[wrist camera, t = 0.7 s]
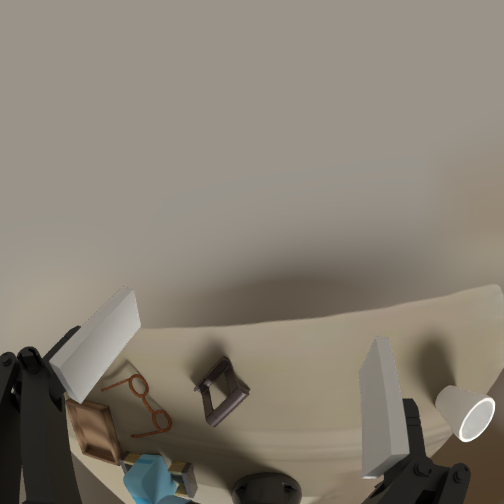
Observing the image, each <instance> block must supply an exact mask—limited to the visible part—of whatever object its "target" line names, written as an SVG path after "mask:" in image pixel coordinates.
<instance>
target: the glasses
mask: <svg viewBox="0 0 504 504" xmlns="http://www.w3.org/2000/svg"><path fill="white" fill-rule="evenodd" d="M135 377H138V378H140V379H141V380H142V381H143V382H144V384H145V387H146V390H145V392H144V393H143V394H142V395H141V394H138V393H137V392H136V391H135V390H134V388H133V386H132V380H133V378H135ZM127 381H129V387H130V389H131V391H132V392H133V393H134V395H136V396H137V397H139V398H142V400H143V402H144V404H145V406H146V407H147V408H148V410H149V411H150V412H151V413H152V420H153V423H154V425H155V427H156V428H157V429H158V430H159V431H154V432H149V433H145V434H141V435H136V436H135V435H132V436H131V437H132V438H138V437H142V436H147V435H152V434H157V433H162V432H167V431H169V430H170V429H171V426H172V422H171V419H170V417H169V416H168V414H167V413H166V412H165V411H164V410H157V411H155V412H154V411H153V410H152V409H151V407H150V406H149V404H148V403H147V401H146V399H145V396H146V395H147V393H148V392H149V387H148V384H147V382H146V381H145V379H144V378H143V377H142V376H141V375H139V374H134V375H132V376H131V377H130V378H129V379H126V380H124V381H122V382H119V383H117V384H114V385H112V386H110V387H107V388H105V389H102V390H101V392H102V391H104V390H107V389H110V388H112V387H115V386H117V385H120V384H122V383H125V382H127ZM158 413H163V414H164V415H165V416H166V417H167V419H168V422H169V425H168V427H167V428H166V429H162V428H160V427H159V425H158V424H157V422H156V415H157V414H158Z"/></svg>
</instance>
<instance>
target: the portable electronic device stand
mask: <svg viewBox="0 0 504 504" xmlns="http://www.w3.org/2000/svg"><path fill="white" fill-rule="evenodd" d="M223 371H224V373H225V376H226V380H227V384H228V387H229V390H230V395H229V396H228V397H227V398H226V399H225V400H224V401H223V402H222V403H221V404H220V405H219V406H218V407H217V408H216V409H215V410H214V409H213V407H212V402H211V396H210V391H209V386H210V385H211V384H212V383H213V382H214V381H215V380H216V379H217V378H218V376H219V375H220V374H221V373H222V372H223ZM196 390H197V391H199V392H200V393H201V395H202V399H203V405H204V412H205V418H206V422H207V423H208V424H209V425H210V426H212V427H216V426H217V425H218V424H219V423H220V422H221V421H222V420H223V419H224V418H225V417H226V416H228V415H229V414H230V413H231V412H232V411H233V410H234V409H235V408H236V407H237V406H238V405H239V404H240V403H241V402H242V401H243V400H244V399H245V398H246V397H247V396H248V395H249V391H250V389H246V388H244V387H243V386H241V385H240V384H239V383H238V381H237V378H236V375H235V372H234V369H233V366H232V363H231V361H230V360H229V359H228V358H226V357H224V356H223V357H222V358H221V359H220V360H219V362H218V363H217V364H216V365H215V366H214V367H213V368H212V369H211V370H210V371H209V373H208V374H207V375H206V376H205V377H204V378H203V379H202V380H201V381H200V382H199V383H198V385H197V386H196V387H195V388H194V391H196Z"/></svg>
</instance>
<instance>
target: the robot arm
mask: <svg viewBox="0 0 504 504" xmlns="http://www.w3.org/2000/svg"><path fill="white" fill-rule="evenodd" d="M140 326H141V324H140V319H139V314H138V309H137V304H136V298H135V293H134V289H132V288H128V287H125V286H123V287H122V288H121V289H120V290H119V291H118V292H117V293H116V294H114V295H113V296H112V297H111V298H110V299H109V300H108V301H107V302H106V303H105V304H104V305H103V306H102V307H101V308H100V309H99V310H98V311H97V312H96V313H95V314H94V315H93V316H92V317H91V318H90V319H89V320H88V321H87V322H86V323H85V324H84V325H83V326H82V327H81V326H76V327H74V328H72V329H71V330H69V331H68V333H66V334H65V336H64V337H62V339H61V340H60V341H59V342H57V344H56V345H55V346H54V347H53V348H52V349H51V350H50V351H49V352H48V353H47V354H46V355H45V356H44V357H43V358H41V356H40V354H39V352H38V351H37V349H36V348H34V347H25V348H23V349H22V350H20V352H19V353H18V355H17V358H16V356H15V355H14V354H13V353H12V352H6V353H4V354H2V355H1V356H0V504H19V494H20V478H21V468H23V477H24V484H25V491H26V501H24V502H23V503H22V504H82V501H81V498H80V494H79V490H78V486H77V482H76V477H75V472H74V468H73V462H72V457H71V451H70V444H69V437H68V429H67V420H66V408H65V397H64V395H63V394H64V392H65V391H66V392H67V393H68V395H69V396H70V398H72V399H74V400H75V401H77V402H79V403H80V404H81V403H82V402H83V400H84V399H85V398H86V396H87V395H88V394H89V392H90V391H91V390H92V388H93V387H94V386H95V384H96V383H97V382H98V380H99V379H100V378H101V376H102V375H103V374H104V372H105V371H106V370H107V368H108V367H109V366H110V365H111V363H112V362H113V361H114V359H115V358H116V357H117V356H118V354H119V353H120V352H121V350H122V349H123V348H124V347H125V345H126V344H127V343H128V342H129V340H130V339H131V338H132V336H133V335H134V334H135V333H136V331H137V330H138V329H139V328H140ZM359 380H360V394H361V414H362V478H378V477H380V476H381V475H383V474H384V480H383V481H382V482H380V483H379V484H377V485H376V486H375V488H376V489H375V490H374V491H373V492H372V493H371V494H370V495H369V496H368V498H367V499H366V500H365V501H364V502H363V503H362V504H463V502H464V499H465V495H466V492H467V489H468V485H469V481H470V476H471V475H470V474H471V473H470V469H469V468H468V466H467V465H465V464H463V463H458V464H455V465H454V466H452V467H451V468H449V467H444V466H438V465H435V464H433V462H432V460H431V459H430V458H428V457H427V456H426V453H425V446H424V439H423V433H422V427H421V421H420V419H419V417H420V416H419V410H418V407H417V405H416V403H415V402H414V400H413V399H402V395H401V390H400V384H399V379H398V374H397V370H396V365H395V360H394V356H393V352H392V347H391V343H390V339H389V338H388V337H379V336H376V337H375V339H374V341H373V343H372V346H371V348H370V350H369V352H368V354H367V356H366V358H365V360H364V362H363V364H362V366H361V368H360V370H359ZM12 387H13V389H14V392H13V393H11V390H12ZM301 498H302V493H301V487H300V485H299V484H298V483H297V482H296V481H295V480H294V479H292V478H290V477H288V476H285V475H282V474H277V473H257V474H252V475H249V476H246V477H244V478H242V479H241V480H239V481H238V482H237V483H236V484H235V486H234V489H233V493H232V500H233V503H234V504H300V502H301ZM157 504H199V503H196V502H193V501H192V500H190V499H189V500H187V499H184V498H181V497H178V496H174V495H167V496H165V497H163V498H162V499H161V500H159V501H158V502H157Z"/></svg>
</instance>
